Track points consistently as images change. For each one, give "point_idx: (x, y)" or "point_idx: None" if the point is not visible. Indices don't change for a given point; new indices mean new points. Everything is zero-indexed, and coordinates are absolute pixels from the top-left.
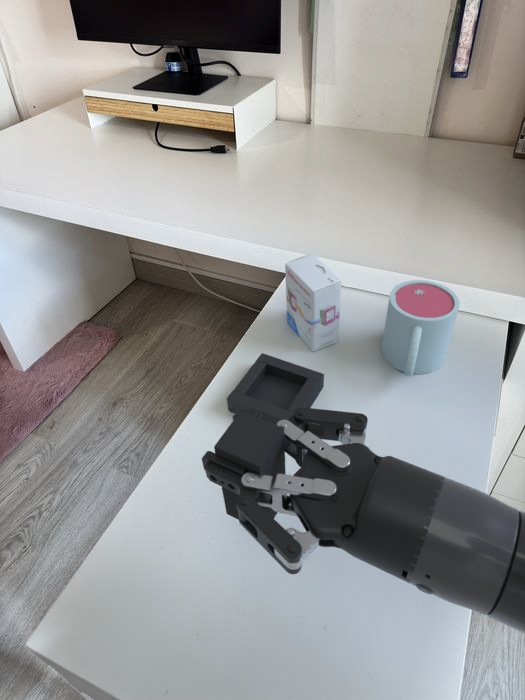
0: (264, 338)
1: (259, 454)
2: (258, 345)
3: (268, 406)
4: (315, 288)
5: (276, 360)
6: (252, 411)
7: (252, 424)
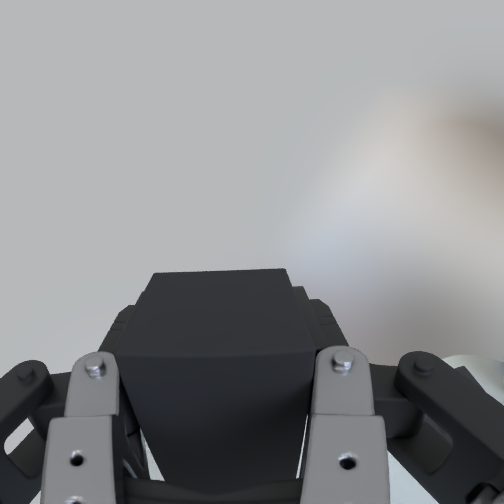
0: (475, 360)
1: (161, 339)
2: (466, 362)
3: (428, 417)
4: None
5: (472, 380)
6: (325, 308)
7: (263, 293)
